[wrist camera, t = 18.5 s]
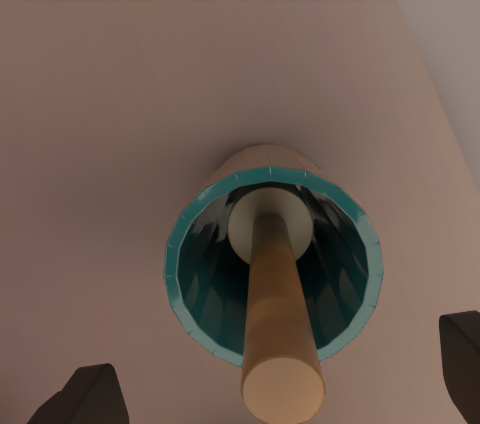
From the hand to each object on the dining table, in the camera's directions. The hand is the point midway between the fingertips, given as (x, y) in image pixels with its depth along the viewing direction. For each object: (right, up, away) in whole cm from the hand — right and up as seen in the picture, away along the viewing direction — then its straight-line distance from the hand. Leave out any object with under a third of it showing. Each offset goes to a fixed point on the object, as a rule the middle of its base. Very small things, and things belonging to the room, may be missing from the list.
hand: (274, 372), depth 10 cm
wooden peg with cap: (+1, +4, +19) cm, 20 cm away
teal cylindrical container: (+1, +5, +20) cm, 20 cm away
